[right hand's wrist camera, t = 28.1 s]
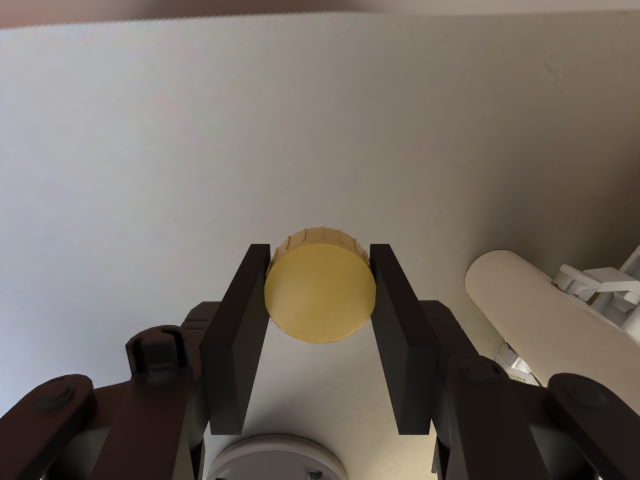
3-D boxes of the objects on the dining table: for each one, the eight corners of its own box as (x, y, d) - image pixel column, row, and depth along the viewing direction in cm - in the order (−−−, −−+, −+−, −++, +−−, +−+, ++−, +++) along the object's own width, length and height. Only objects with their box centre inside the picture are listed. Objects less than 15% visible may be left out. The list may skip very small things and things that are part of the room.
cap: (362, 216, 14) (368, 230, 12) (378, 309, 15) (386, 334, 13) (257, 236, 14) (248, 254, 12) (282, 326, 15) (278, 353, 14)
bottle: (535, 290, 31) (1031, 694, 9) (476, 315, 32) (810, 739, 10) (516, 239, 29) (1065, 584, 8) (455, 266, 30) (798, 648, 9)
